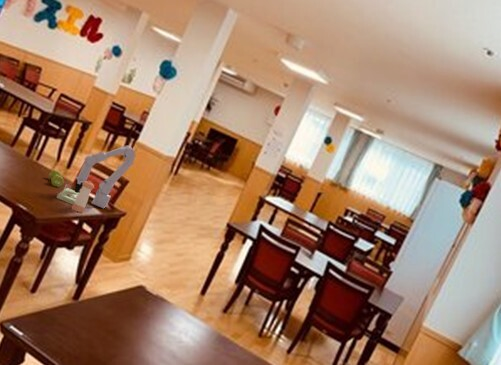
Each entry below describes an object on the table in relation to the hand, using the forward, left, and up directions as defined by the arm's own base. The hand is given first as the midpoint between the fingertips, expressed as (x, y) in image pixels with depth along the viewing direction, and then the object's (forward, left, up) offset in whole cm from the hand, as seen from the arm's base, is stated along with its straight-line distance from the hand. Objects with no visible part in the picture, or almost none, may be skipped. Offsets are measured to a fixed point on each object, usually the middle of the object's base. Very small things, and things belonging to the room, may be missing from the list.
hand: (76, 192), depth 335 cm
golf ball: (-1, +11, -1) cm, 11 cm away
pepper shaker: (-8, +26, -4) cm, 27 cm away
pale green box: (0, +7, -3) cm, 8 cm away
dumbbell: (+17, -13, -4) cm, 22 cm away
